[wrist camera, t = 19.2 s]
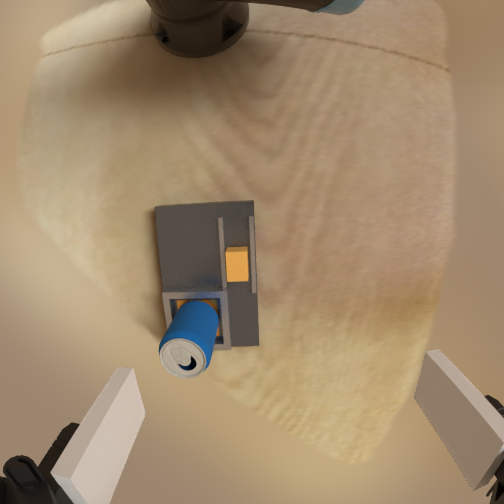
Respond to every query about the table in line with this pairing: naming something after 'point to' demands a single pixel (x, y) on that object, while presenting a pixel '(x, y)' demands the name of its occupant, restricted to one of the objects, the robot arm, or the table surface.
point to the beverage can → (189, 340)
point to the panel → (209, 265)
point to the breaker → (237, 264)
